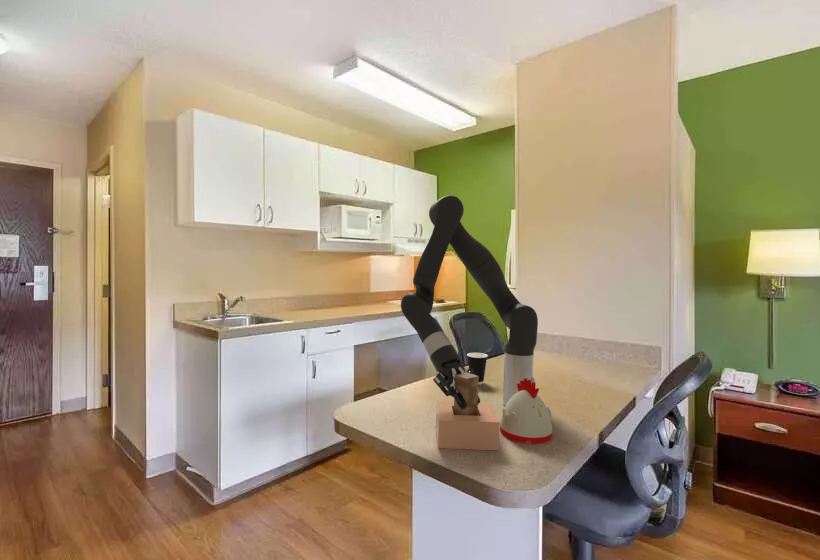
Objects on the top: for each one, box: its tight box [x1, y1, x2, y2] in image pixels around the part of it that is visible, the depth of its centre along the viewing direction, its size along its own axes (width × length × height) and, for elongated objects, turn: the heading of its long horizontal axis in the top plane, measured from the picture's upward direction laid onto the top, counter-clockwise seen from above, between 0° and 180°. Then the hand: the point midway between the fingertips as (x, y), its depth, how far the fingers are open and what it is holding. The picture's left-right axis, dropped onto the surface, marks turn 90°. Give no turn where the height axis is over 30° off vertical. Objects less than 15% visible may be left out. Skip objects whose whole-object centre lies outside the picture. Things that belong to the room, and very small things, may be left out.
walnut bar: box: [453, 373, 479, 416], centre depth 110 cm, size 4×4×14 cm
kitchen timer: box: [499, 378, 553, 445], centre depth 114 cm, size 14×14×15 cm
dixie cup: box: [466, 352, 489, 386], centre depth 162 cm, size 8×8×11 cm
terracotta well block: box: [435, 400, 501, 451], centre depth 111 cm, size 15×15×7 cm
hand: (471, 405), depth 109 cm, fingers closed on walnut bar, 4 cm apart
